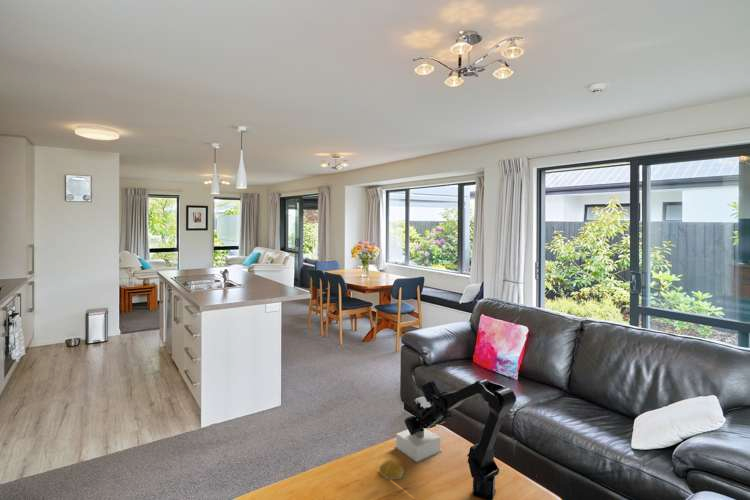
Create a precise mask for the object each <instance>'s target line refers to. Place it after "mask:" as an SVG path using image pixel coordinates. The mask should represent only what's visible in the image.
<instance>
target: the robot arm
mask: <svg viewBox="0 0 750 500" xmlns="http://www.w3.org/2000/svg"><path fill="white" fill-rule="evenodd" d="M419 389H420V390H421V393H422V395H423V396H422V395H421V396H419V397H417V398H415V399H414V400H413V401H412V403H411V404H412V405H411V407H412V408H413V409H414V410H415V411H418V415H419V417H418V415H416V416H415V415H412V416H408V417H406V418H405V419H404V423H405V426H406V428H407V430H409V433H410V434H411V435H414V434H417V433H419V432H422V431H424V429H432V428H434V427H436V426H437V422H438V425H442V424H444V423H446V422H447V420H448V419H451V418H452V416H453V415H452V411H451V410H452V409H455V408H458V407H459V406H461V405H462V404H463V402H464V401H466V400H467V399H469V398H473V397H474V396H476V395H480V396H481V398H482V399H483V401H485V402H487V407H488V409H489V412H488V415H487V418H486V422H485V425H484V427H483V431H482V433H481V435H480V439H479V441H478V442H477V443H476V444H473V445H471V446H470V447H469V450H468V454H467V455H466V457H467V463H468V467H469V471H470V475H471V477H472V478H473V479H472V491H473V494H472V495H473V497H475V498H480V499H483V500H494V497H495V494H496V488H495V487H496V476H497V475H499V473H500V468H499V467H498V465H497V464H496V462H495V460H494V458H495V454H494V453H495V452H494V446H495V443H496V441H497V438H498V435H499V432H500V429H501V427H502V424H503V422H504V419H505V416H506V415H507V414H508V413H509V412H510V411H511V409H513V407H514V405H515V403H516V401H517V396H516V395H515V392H514V390H512V389H511V387H508V386H507V387H506V386H504V385H502V384H500V383H497V382H493V381H491V380H488V379H486V378H481V379H479V380H476V381H474V382H473V383H472V384H469V385H467V386H465V387H463V388H460V389H458V390H453V391H442V392H440V391H439V390H440V389H439V388H438V387H437V385H436V381H434V380H430V381H428V382H427V383H425V384H424V385H421V386H420V388H419ZM423 428H424V429H423Z"/></svg>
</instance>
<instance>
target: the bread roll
mask: <svg viewBox="0 0 750 500" xmlns="http://www.w3.org/2000/svg"><path fill="white" fill-rule="evenodd" d="M379 472H380V473H381V475H382V476H383V477H384V478H386V479H387V480H388V481H389V480H390V481H392V480H399V479H401V478H402V477H403V476H404V473H405V470H404V467H403V466H402V464H399V463H397V461H394V460H391V459H388V460H386V461H384V462H383V463H382V464H381V465H380V466H379Z"/></svg>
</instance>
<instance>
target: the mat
mask: <svg viewBox="0 0 750 500" xmlns="http://www.w3.org/2000/svg"><path fill="white" fill-rule="evenodd" d="M394 449H395V450H397V451H398V452H399V453H401V454H403V455H404V456H405V457H406V458H408V459H410V460H411V461H413V462H414V463H416V464H419V463H421V462H424V461H426V460H427V459H430V458H432V457H434V456H436V455H439V454H441V453H443V450H442V451H441V450H440V452H438V453H436V454H434V455H431V456H429V457H427V458H425V459H422V460H420V461H418V462H416V461H415V460H414V459H412V458H411V457H409V456H408V455H406V454H405V453H403V452H402V451H400V450H399V449H397V448H396V446H395V447H394Z"/></svg>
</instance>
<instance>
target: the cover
mask: <svg viewBox="0 0 750 500" xmlns="http://www.w3.org/2000/svg"><path fill="white" fill-rule="evenodd" d="M423 429H424V428H423ZM395 439H396V440H395V441H396V444H395V445H396V446H395V447H396V448H397V449H399V450H400V451H402V452H403V453H405V454H406V455H408V456H409V457H411V458H412V459H414V460H415V461H416V462H418V461H420V460H422V459H425V458H427V457H429V456H431V455H434V454H436V453H438V452H440V451H441V437H440V436H439V435H437V434H435V433H434V432H432V431H430V430H428V428H425V429H424V431H422V432H419V433H417V434H414V435H411V434H410V433H409V430H408V429H405V430H403V431H400V432H397V433H396V437H395ZM397 449H396V450H397ZM416 462H415V463H416Z"/></svg>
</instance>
